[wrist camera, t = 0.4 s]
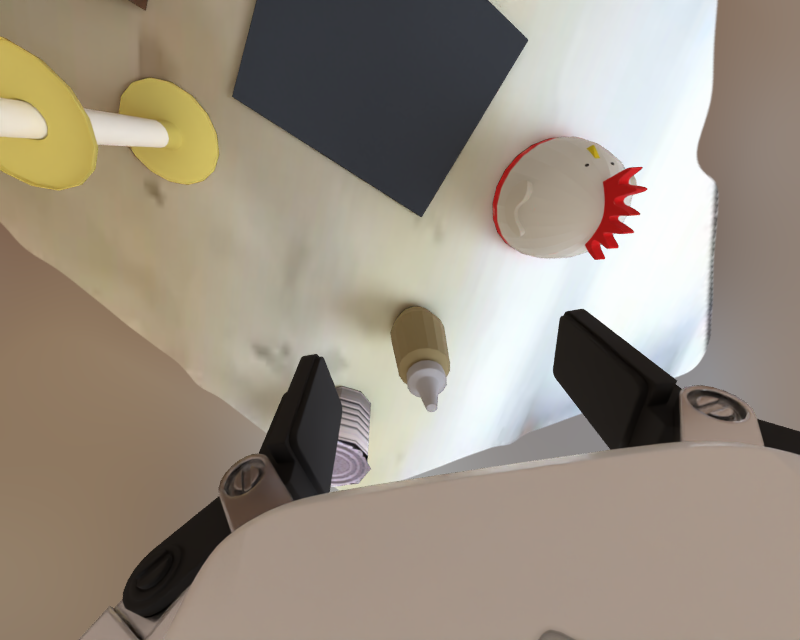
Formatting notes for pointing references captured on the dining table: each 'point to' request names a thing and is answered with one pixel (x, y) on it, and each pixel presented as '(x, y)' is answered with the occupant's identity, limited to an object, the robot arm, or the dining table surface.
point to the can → (352, 438)
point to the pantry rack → (140, 3)
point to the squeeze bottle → (421, 354)
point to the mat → (379, 82)
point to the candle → (95, 127)
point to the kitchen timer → (564, 199)
